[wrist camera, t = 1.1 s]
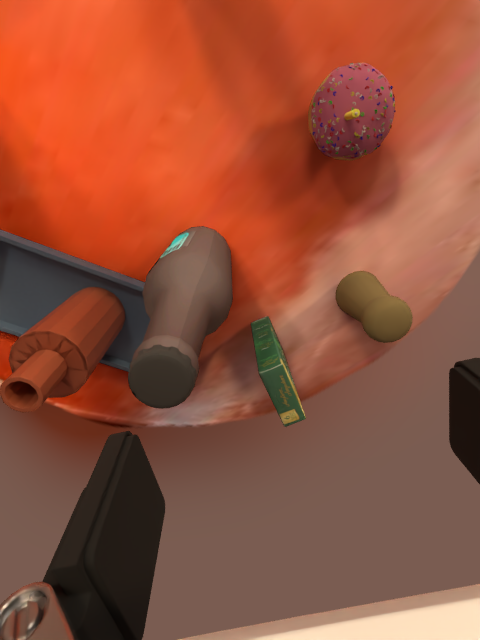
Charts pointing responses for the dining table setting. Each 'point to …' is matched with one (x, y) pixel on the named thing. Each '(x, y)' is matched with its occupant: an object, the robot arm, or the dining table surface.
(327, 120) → the cupcake
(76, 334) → the terracotta bottle
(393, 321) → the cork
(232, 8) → the dining table surface
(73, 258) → the tray
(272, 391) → the coffee box
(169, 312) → the beer bottle
